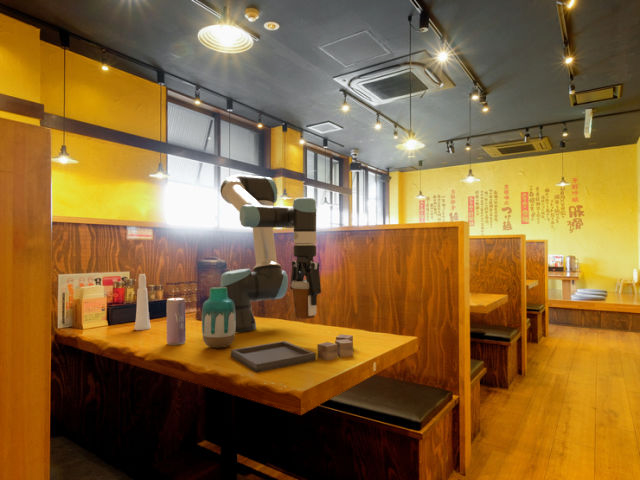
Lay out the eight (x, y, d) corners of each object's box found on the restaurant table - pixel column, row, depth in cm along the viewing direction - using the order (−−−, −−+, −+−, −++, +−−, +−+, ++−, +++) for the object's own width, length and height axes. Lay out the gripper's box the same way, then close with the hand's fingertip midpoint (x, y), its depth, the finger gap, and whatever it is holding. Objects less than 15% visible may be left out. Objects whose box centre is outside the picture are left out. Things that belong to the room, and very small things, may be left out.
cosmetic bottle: (148, 329, 155) (148, 274, 155) (132, 330, 154) (131, 274, 154) (152, 326, 161) (152, 273, 161) (136, 327, 160) (136, 273, 160)
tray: (230, 356, 114) (230, 349, 114) (284, 347, 124) (284, 340, 124) (256, 372, 99) (256, 364, 99) (315, 360, 109) (315, 353, 109)
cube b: (335, 353, 116) (335, 340, 116) (347, 352, 117) (347, 339, 117) (340, 357, 112) (340, 343, 112) (353, 355, 114) (352, 342, 114)
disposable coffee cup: (316, 320, 124) (316, 282, 124) (287, 319, 126) (287, 282, 126) (322, 314, 133) (321, 279, 133) (295, 313, 135) (294, 279, 135)
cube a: (317, 358, 112) (317, 344, 112) (327, 355, 114) (327, 341, 114) (327, 361, 109) (327, 346, 109) (337, 358, 111) (337, 344, 111)
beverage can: (180, 340, 136) (180, 297, 136) (188, 343, 132) (188, 298, 132) (163, 343, 132) (163, 299, 132) (171, 346, 127) (171, 300, 128)
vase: (200, 345, 128) (199, 287, 129) (232, 341, 133) (232, 285, 133) (204, 353, 119) (203, 290, 119) (238, 349, 123) (238, 288, 123)
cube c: (336, 350, 120) (335, 337, 120) (341, 347, 124) (341, 334, 124) (348, 351, 118) (347, 338, 119) (353, 348, 122) (352, 335, 122)
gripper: (280, 244, 136) (280, 309, 136) (312, 245, 119) (312, 319, 119) (298, 244, 140) (298, 307, 140) (332, 244, 123) (332, 316, 123)
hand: (305, 313), depth 129 cm, fingers closed on disposable coffee cup, 8 cm apart
